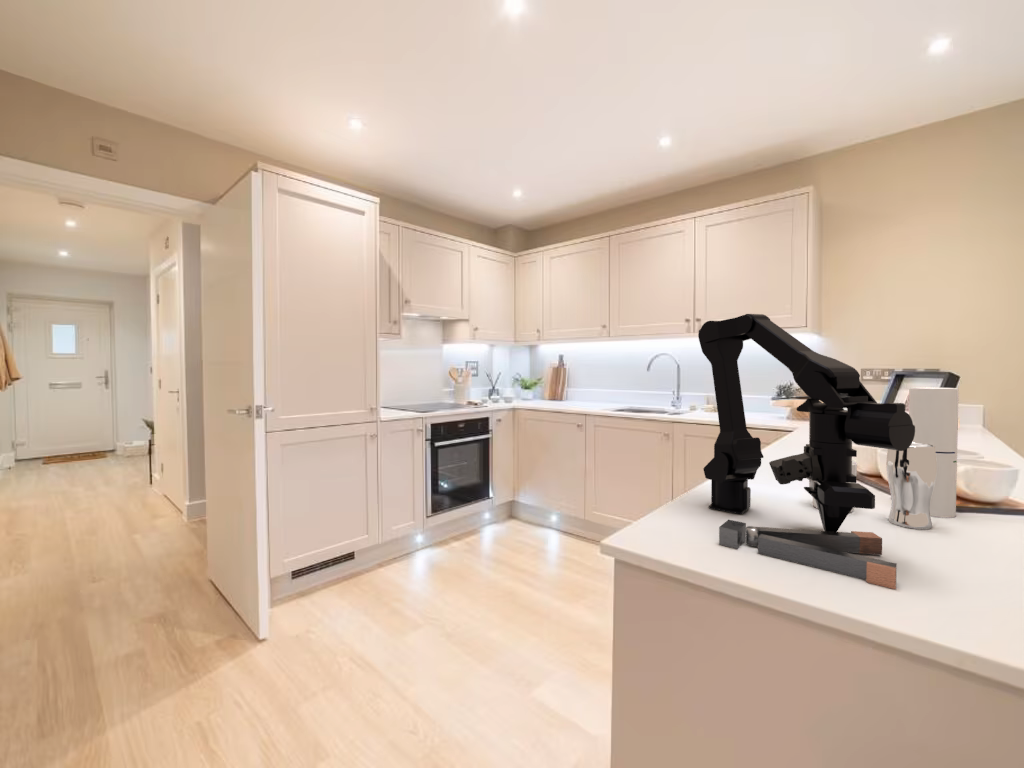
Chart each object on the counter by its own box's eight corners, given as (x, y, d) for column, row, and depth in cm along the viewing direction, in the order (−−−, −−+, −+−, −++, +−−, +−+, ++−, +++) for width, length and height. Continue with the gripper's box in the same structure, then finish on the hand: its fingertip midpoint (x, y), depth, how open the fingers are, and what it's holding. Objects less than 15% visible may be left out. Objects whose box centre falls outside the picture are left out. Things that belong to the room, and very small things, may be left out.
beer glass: (945, 531, 78) (947, 447, 78) (900, 529, 80) (902, 446, 79) (918, 518, 85) (919, 441, 85) (877, 516, 87) (878, 440, 86)
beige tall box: (897, 507, 93) (899, 387, 92) (928, 505, 93) (931, 387, 92) (932, 518, 85) (935, 389, 85) (966, 517, 86) (969, 388, 85)
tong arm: (748, 545, 73) (748, 530, 73) (743, 539, 75) (743, 524, 75) (882, 555, 68) (882, 538, 68) (872, 548, 71) (872, 532, 71)
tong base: (718, 545, 73) (718, 527, 73) (728, 536, 77) (728, 519, 77) (895, 589, 58) (895, 566, 58) (897, 575, 62) (897, 554, 62)
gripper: (764, 431, 84) (763, 513, 85) (786, 447, 67) (786, 550, 67) (833, 434, 80) (833, 519, 81) (877, 451, 63) (876, 560, 63)
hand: (829, 535), depth 73 cm, fingers closed
